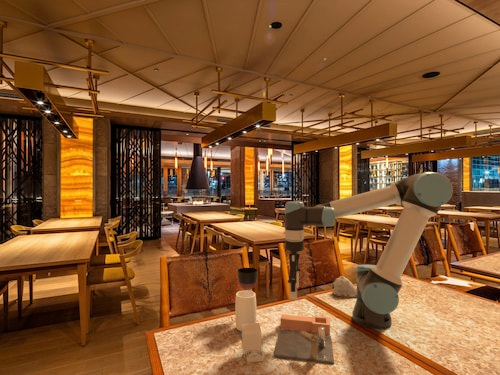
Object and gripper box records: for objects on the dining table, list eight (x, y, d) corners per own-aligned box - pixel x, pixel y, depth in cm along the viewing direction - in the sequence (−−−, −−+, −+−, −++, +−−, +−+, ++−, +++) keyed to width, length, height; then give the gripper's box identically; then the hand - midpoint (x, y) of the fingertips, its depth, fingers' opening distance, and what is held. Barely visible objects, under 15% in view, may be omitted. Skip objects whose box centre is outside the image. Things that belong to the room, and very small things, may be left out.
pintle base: (330, 338, 103) (330, 318, 103) (334, 367, 87) (334, 343, 87) (279, 333, 108) (279, 313, 108) (273, 359, 91) (273, 336, 91)
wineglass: (256, 320, 118) (255, 273, 118) (236, 318, 120) (235, 272, 120) (259, 312, 126) (258, 268, 126) (240, 310, 127) (240, 267, 127)
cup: (259, 326, 113) (259, 291, 113) (252, 336, 105) (252, 299, 105) (239, 323, 116) (239, 289, 116) (231, 333, 108) (231, 296, 108)
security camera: (241, 352, 95) (241, 322, 95) (261, 351, 96) (261, 321, 96) (242, 363, 89) (242, 332, 89) (264, 362, 90) (263, 331, 90)
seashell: (362, 298, 141) (362, 278, 141) (335, 298, 142) (335, 278, 142) (354, 289, 154) (354, 271, 154) (328, 289, 154) (328, 271, 154)
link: (329, 327, 112) (328, 317, 112) (330, 335, 106) (329, 325, 106) (282, 322, 116) (282, 312, 116) (280, 330, 110) (280, 320, 110)
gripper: (287, 234, 125) (287, 281, 125) (281, 245, 100) (281, 304, 100) (304, 235, 123) (304, 283, 123) (302, 246, 99) (302, 306, 99)
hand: (294, 292), depth 112 cm, fingers open, 13 cm apart
